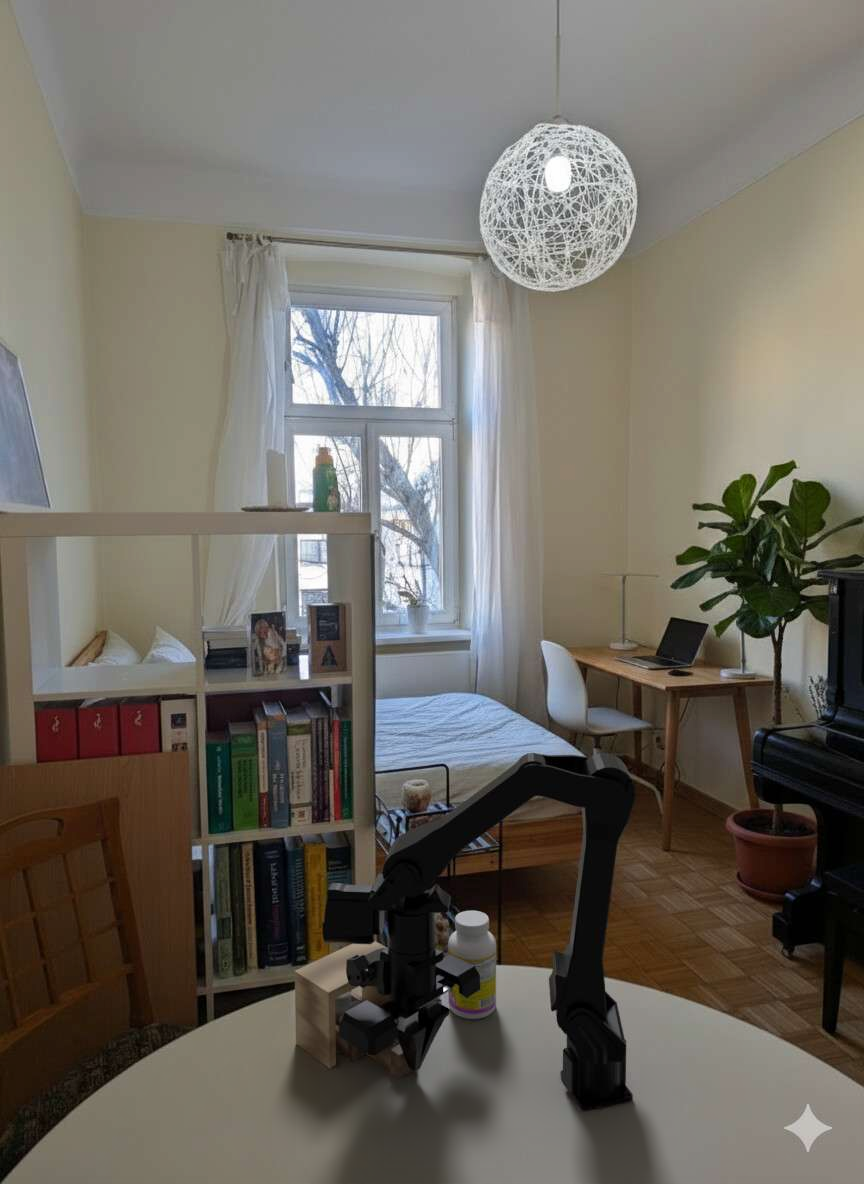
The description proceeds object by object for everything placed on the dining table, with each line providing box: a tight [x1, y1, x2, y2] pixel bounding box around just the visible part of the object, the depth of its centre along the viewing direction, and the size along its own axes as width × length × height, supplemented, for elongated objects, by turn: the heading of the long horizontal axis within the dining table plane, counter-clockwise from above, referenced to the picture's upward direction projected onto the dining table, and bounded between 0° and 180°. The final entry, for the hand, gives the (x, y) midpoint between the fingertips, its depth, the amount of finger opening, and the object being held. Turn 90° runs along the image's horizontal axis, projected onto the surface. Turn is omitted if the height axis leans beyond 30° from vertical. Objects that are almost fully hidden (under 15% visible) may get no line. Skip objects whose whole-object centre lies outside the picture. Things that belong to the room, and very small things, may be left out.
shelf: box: [294, 940, 390, 1069], centre depth 105 cm, size 7×12×10 cm, turn 135°
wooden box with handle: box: [335, 990, 413, 1080], centre depth 103 cm, size 16×7×5 cm, turn 46°
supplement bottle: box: [447, 910, 497, 1020], centre depth 111 cm, size 7×7×13 cm
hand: (414, 1068), depth 96 cm, fingers closed, pressing on wooden box with handle
